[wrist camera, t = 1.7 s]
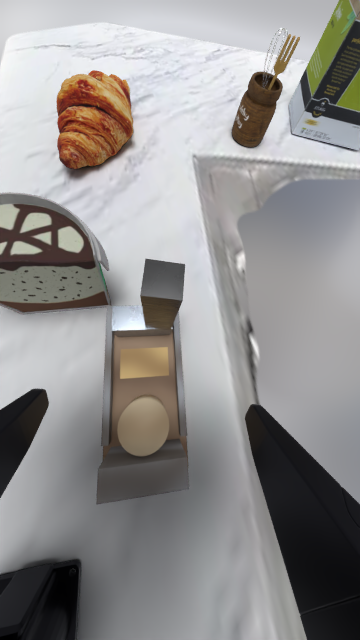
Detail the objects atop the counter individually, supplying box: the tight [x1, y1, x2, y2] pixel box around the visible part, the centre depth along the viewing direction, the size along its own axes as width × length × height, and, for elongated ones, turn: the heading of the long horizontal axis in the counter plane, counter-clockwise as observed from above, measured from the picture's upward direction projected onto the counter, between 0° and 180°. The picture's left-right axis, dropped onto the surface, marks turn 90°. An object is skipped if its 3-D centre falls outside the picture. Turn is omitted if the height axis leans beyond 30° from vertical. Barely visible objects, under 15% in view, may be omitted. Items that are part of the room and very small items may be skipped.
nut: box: [117, 394, 169, 456], centre depth 17 cm, size 4×4×4 cm
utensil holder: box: [232, 28, 300, 147], centre depth 29 cm, size 6×6×12 cm
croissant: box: [57, 70, 133, 169], centre depth 28 cm, size 21×10×8 cm, turn 165°
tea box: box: [289, 0, 360, 150], centre depth 32 cm, size 15×10×15 cm
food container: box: [0, 193, 111, 314], centre depth 18 cm, size 12×6×10 cm, turn 99°
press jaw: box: [112, 259, 185, 337], centre depth 16 cm, size 3×6×10 cm, turn 94°
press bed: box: [97, 306, 189, 504], centre depth 18 cm, size 16×8×6 cm, turn 4°
